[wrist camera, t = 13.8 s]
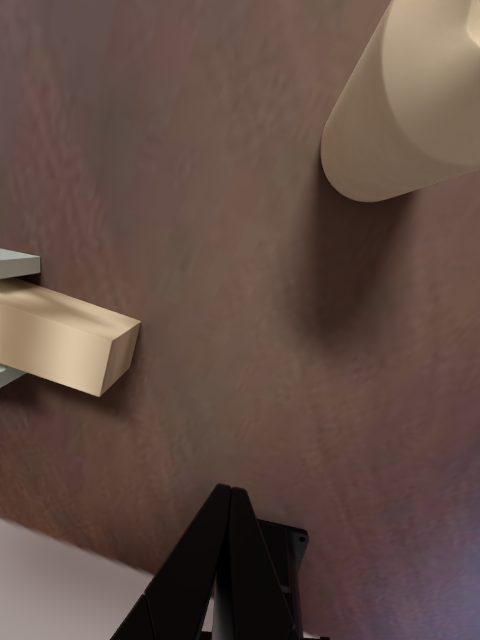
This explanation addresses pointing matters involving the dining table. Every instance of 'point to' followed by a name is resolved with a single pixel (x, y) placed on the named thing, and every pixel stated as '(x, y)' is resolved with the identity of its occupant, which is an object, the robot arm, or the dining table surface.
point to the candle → (409, 103)
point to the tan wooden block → (63, 337)
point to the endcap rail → (13, 265)
